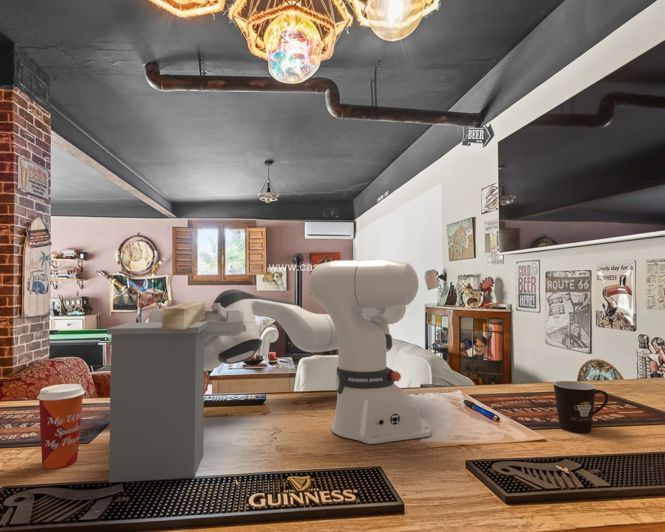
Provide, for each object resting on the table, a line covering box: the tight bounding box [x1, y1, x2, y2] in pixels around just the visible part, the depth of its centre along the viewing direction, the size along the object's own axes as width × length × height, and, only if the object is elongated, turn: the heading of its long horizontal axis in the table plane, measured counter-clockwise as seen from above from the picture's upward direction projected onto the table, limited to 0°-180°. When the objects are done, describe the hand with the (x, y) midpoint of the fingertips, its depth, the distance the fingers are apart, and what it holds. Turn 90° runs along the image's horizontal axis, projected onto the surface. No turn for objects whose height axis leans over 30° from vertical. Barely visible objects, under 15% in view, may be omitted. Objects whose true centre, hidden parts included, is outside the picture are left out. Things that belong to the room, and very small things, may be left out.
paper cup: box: [36, 383, 86, 470], centre depth 83 cm, size 8×8×14 cm
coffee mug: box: [553, 380, 609, 434], centre depth 101 cm, size 12×9×10 cm
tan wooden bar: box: [161, 301, 206, 330], centre depth 85 cm, size 4×23×4 cm, turn 8°
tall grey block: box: [106, 322, 207, 483], centre depth 81 cm, size 15×11×26 cm
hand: (193, 306), depth 92 cm, fingers open, 8 cm apart
